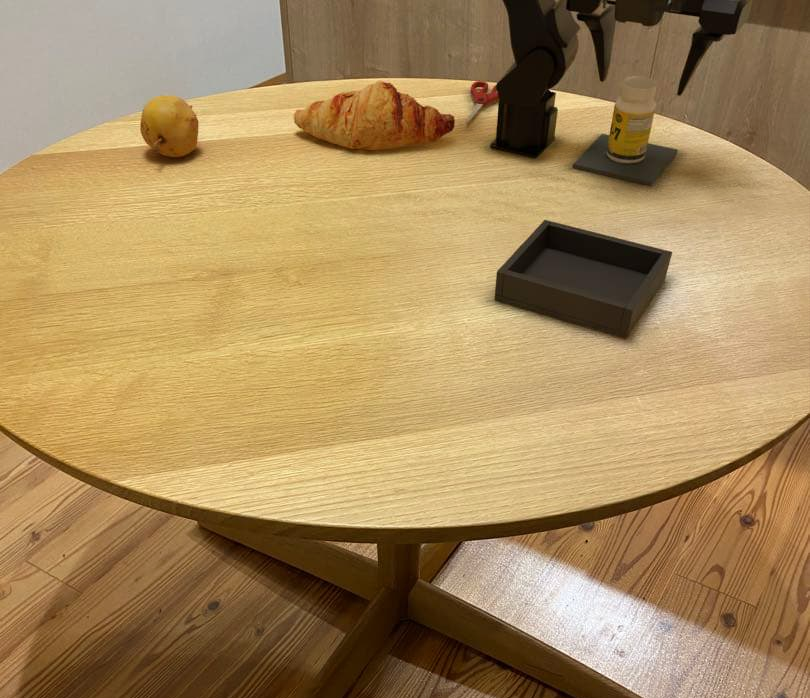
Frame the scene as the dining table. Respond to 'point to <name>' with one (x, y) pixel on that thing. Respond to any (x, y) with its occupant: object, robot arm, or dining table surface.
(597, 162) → the mat
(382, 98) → the croissant
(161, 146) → the fruit
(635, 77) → the supplement bottle
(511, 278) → the tray
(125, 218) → the dining table surface
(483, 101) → the scissors
